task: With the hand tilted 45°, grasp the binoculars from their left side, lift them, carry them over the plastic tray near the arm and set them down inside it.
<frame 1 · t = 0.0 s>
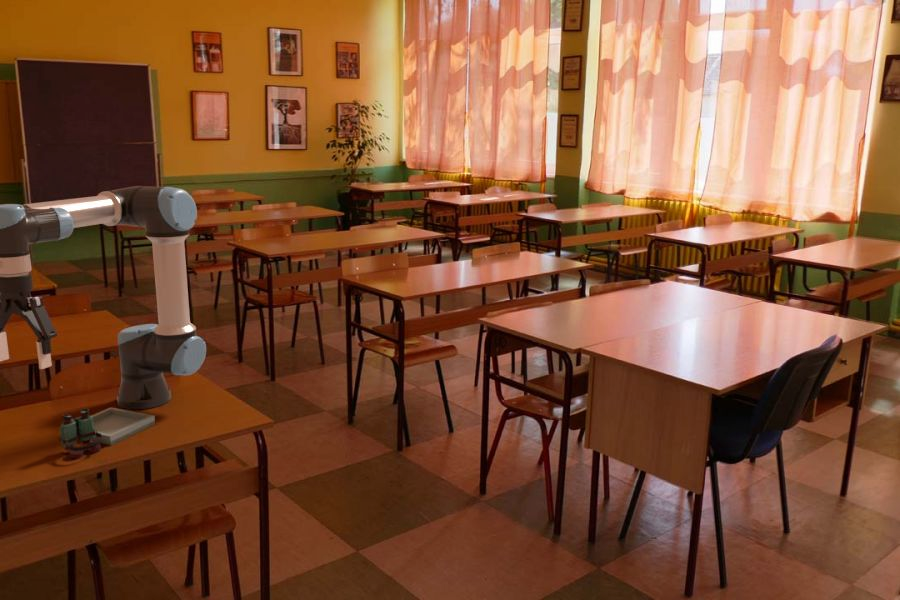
hand: (24, 363, 182), 28 cm above the table, tool pointing down, fingers open, 13 cm apart
binoculars: (84, 453, 201), on the table
tray: (111, 429, 215), on the table
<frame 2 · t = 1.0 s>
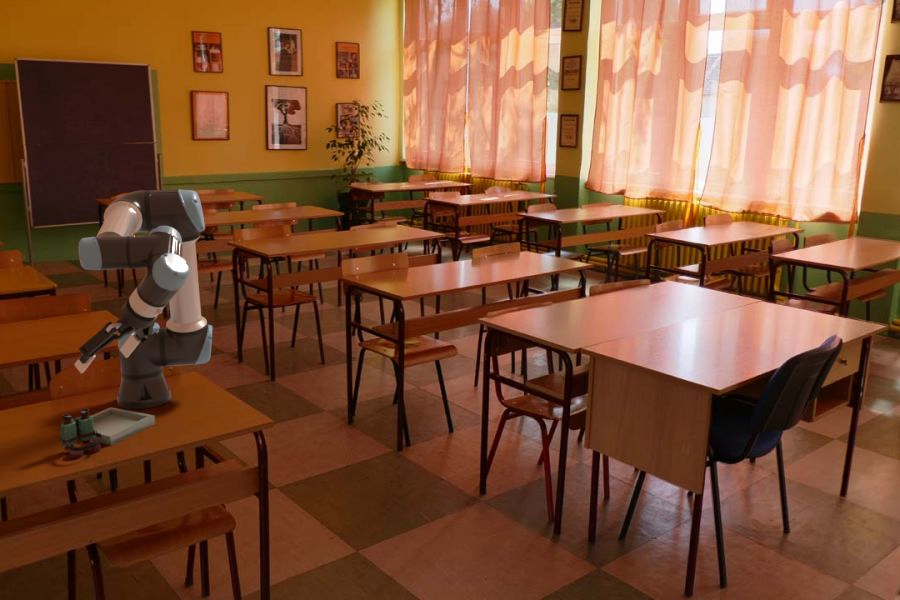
hand: (101, 360, 191), 26 cm above the table, tool tilted 45°, fingers open, 13 cm apart
nothing on the table moved.
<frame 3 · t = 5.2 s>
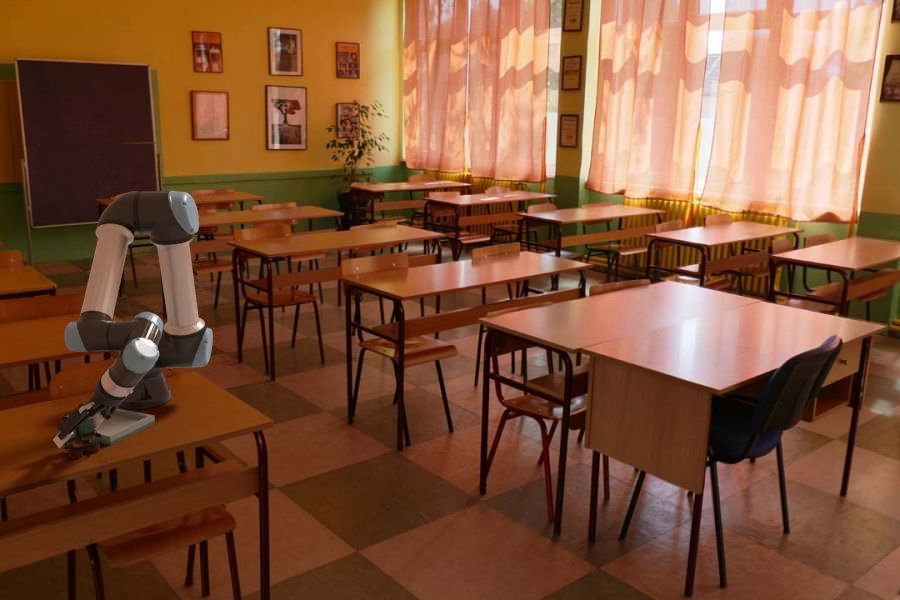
hand: (73, 436, 201), 4 cm above the table, tool tilted 45°, fingers closed on binoculars, 9 cm apart
binoculars: (83, 453, 201), on the table, touching gripper
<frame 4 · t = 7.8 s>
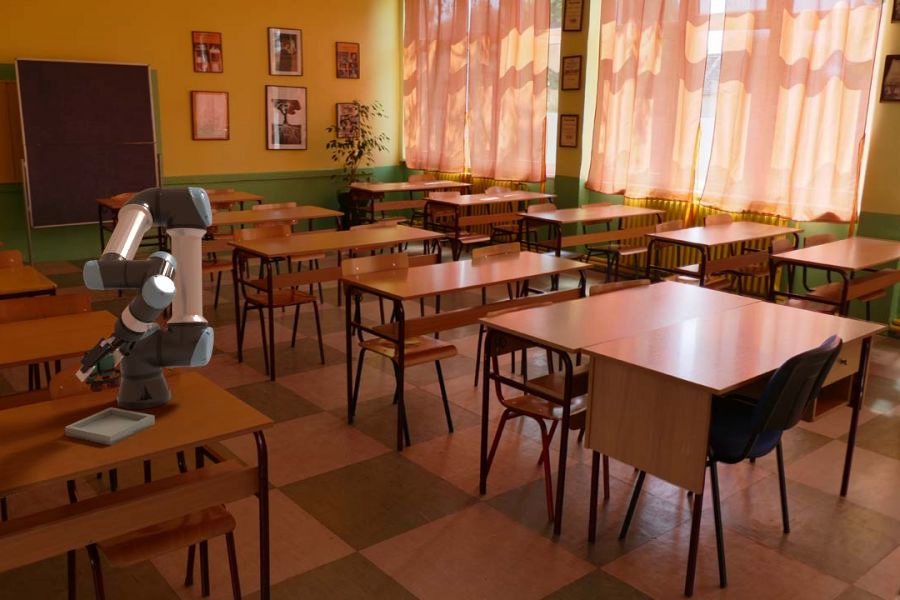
hand: (94, 371, 211), 17 cm above the table, tool tilted 45°, fingers closed on binoculars, 9 cm apart
binoculars: (104, 388, 211), point 13 cm above the table, touching gripper
when the fingers open (6 cm above the table, at t = 10.5 s): binoculars drops 1 cm, resting on tray.
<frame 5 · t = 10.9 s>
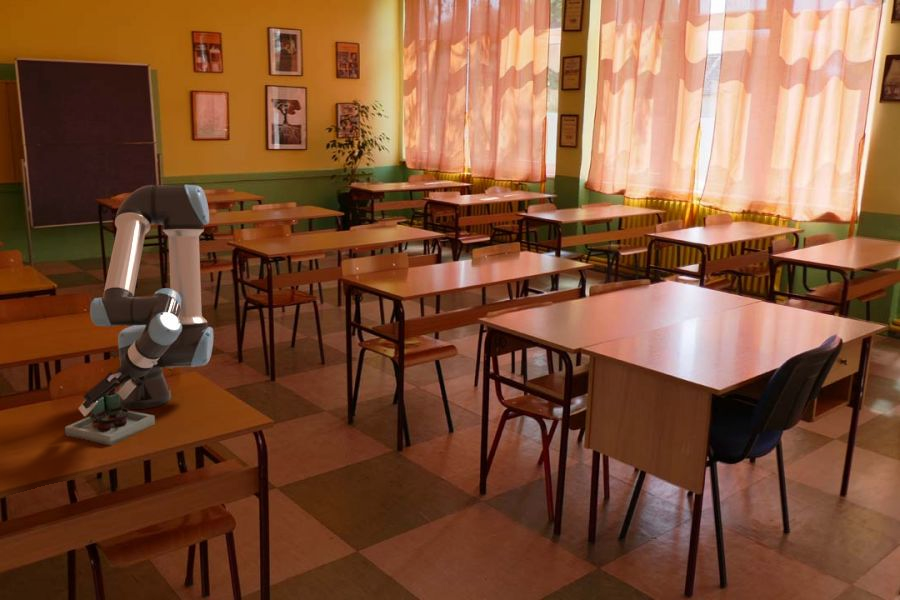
hand: (102, 403, 214), 7 cm above the table, tool tilted 45°, fingers open, 13 cm apart
binoculars: (111, 426, 215), point 1 cm above the table, touching tray
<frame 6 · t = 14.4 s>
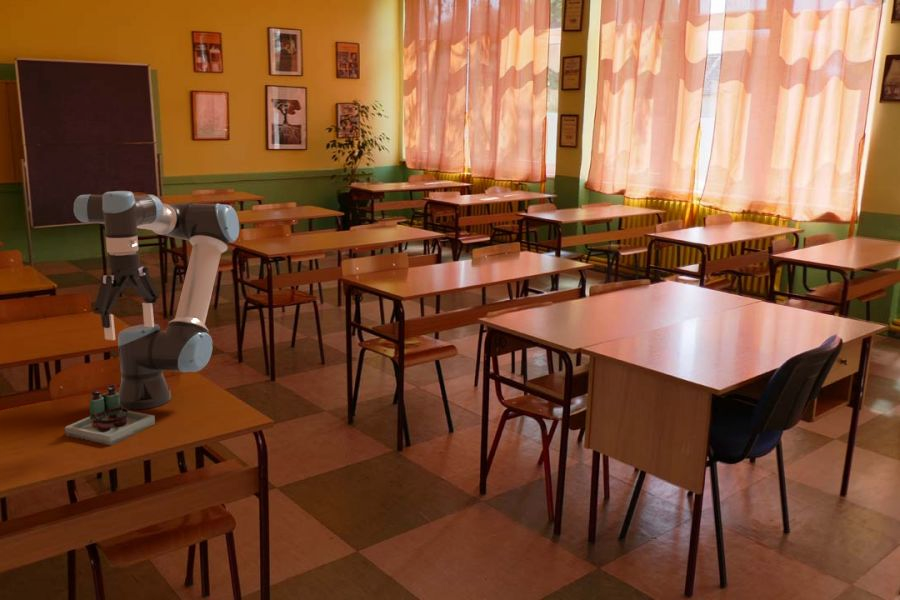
hand: (130, 332, 205), 29 cm above the table, tool pointing down, fingers open, 13 cm apart
nothing on the table moved.
at the end: binoculars inside the target area on the tray (0.1 cm from its centre), point 0.8 cm above the tray's base; the gripper is holding nothing; binoculars moved 14.9 cm from its start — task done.
